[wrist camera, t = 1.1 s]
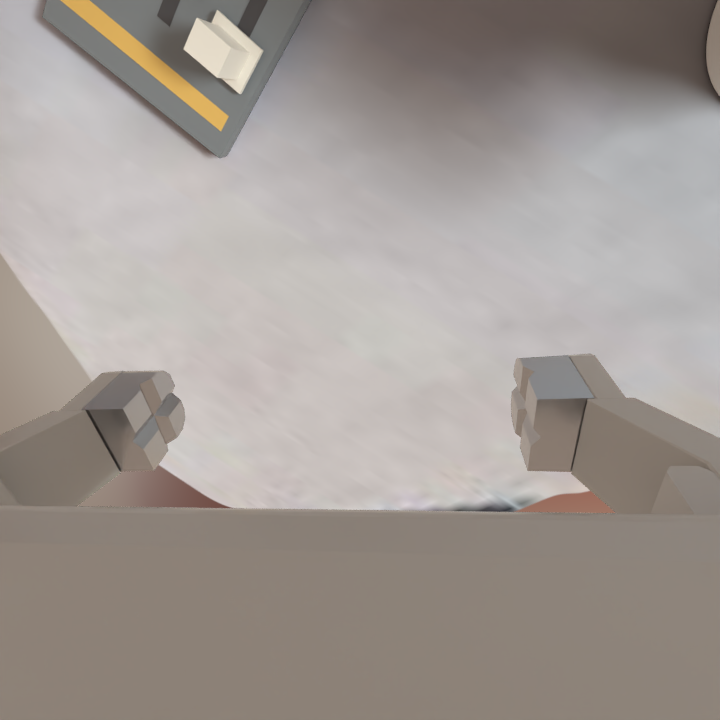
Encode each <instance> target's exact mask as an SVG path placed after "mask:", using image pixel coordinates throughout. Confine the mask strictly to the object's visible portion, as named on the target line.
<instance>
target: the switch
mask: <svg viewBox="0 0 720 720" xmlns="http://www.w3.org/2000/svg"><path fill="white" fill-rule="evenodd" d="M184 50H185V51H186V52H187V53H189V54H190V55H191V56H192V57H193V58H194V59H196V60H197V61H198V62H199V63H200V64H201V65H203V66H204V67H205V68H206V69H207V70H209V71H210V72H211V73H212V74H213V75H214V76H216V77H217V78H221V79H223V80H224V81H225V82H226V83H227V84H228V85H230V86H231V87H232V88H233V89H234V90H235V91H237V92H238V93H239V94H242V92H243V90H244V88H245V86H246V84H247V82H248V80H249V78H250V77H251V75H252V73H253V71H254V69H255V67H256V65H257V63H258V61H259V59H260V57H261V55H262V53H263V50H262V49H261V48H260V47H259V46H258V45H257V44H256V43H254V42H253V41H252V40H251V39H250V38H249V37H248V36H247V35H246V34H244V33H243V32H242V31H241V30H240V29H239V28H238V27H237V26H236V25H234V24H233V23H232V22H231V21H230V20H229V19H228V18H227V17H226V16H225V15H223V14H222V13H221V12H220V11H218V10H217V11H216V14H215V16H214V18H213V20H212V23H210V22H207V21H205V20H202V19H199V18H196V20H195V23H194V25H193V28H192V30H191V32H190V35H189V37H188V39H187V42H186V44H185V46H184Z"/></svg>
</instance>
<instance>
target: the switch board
mask: <svg viewBox="0 0 720 720" xmlns="http://www.w3.org/2000/svg"><path fill="white" fill-rule="evenodd" d="M310 2H311V0H46V4H45V8H44V12H43V16H42V17H43V18H44V19H46V20H47V21H48V22H49V23H51V24H52V25H53V26H54V27H56V28H57V29H58V30H59V31H61V32H62V33H63V34H64V35H66V36H67V37H68V38H69V39H71V40H72V41H73V42H74V43H76V44H77V45H78V46H79V47H81V48H82V49H83V50H84V51H86V52H87V53H88V54H89V55H91V56H92V57H93V58H94V59H96V60H97V61H98V62H99V63H101V64H102V65H103V66H104V67H106V68H107V69H108V70H109V71H111V72H112V73H113V74H115V75H116V76H117V77H118V78H120V79H121V80H122V81H123V82H125V83H126V84H127V85H128V86H130V87H131V88H132V89H133V90H135V91H136V92H137V93H138V94H140V95H141V96H142V97H143V98H145V99H146V100H147V101H148V102H150V103H151V104H152V105H153V106H155V107H156V108H157V109H158V110H160V111H161V112H162V113H163V114H165V115H166V116H167V117H168V118H170V119H171V120H172V121H173V122H175V123H176V124H177V125H178V126H180V127H181V128H182V129H183V130H185V131H186V132H187V133H188V134H190V135H191V136H192V137H193V138H195V139H196V140H197V141H198V142H200V143H201V144H202V145H203V146H205V147H206V148H207V149H208V150H210V151H211V152H212V153H213V154H215V155H216V156H217V157H218V158H222V157H226V156H227V155H228V153H229V152H230V150H231V148H232V146H233V144H234V142H235V140H236V139H237V137H238V135H239V133H240V131H241V129H242V128H243V126H244V124H245V122H246V120H247V118H248V116H249V115H250V113H251V111H252V109H253V107H254V105H255V103H256V102H257V100H258V98H259V96H260V94H261V92H262V91H263V89H264V87H265V85H266V83H267V81H268V79H269V78H270V76H271V74H272V72H273V70H274V68H275V66H276V65H277V63H278V61H279V59H280V57H281V55H282V54H283V52H284V50H285V48H286V46H287V44H288V42H289V41H290V39H291V37H292V35H293V33H294V31H295V29H296V28H297V26H298V24H299V22H300V20H301V18H302V17H303V15H304V13H305V11H306V9H307V7H308V5H309V4H310ZM217 10H218V11H220V12H221V13H222V14H223V15H225V16H226V17H227V18H228V19H229V20H230V21H231V22H232V23H233V24H234V25H236V26H237V27H238V28H239V29H240V30H241V31H242V32H243V33H244V34H246V35H247V36H248V37H249V38H250V39H251V40H252V41H253V42H254V43H256V44H257V45H258V46H259V47H260V48H261V49H262V50H263V53H262V55H261V57H260V59H259V61H258V63H257V65H256V67H255V69H254V71H253V73H252V75H251V77H250V78H249V80H248V82H247V84H246V86H245V88H244V90H243V92H242V94H239V93H238V92H237V91H235V90H234V89H233V88H232V87H231V86H230V85H228V84H227V83H226V82H225V81H224V80H223V79H221V78H217V77H216V76H214V75H213V74H212V73H211V72H210V71H209V70H207V69H206V68H205V67H204V66H203V65H201V64H200V63H199V62H198V61H197V60H196V59H194V58H193V57H192V56H191V55H190V54H189V53H187V52H186V51H185V50H184V46H185V44H186V42H187V39H188V37H189V35H190V32H191V30H192V28H193V25H194V23H195V20H196V18H199V19H202V20H205V21H207V22H210V23H212V20H213V18H214V16H215V14H216V11H217Z"/></svg>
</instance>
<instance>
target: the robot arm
mask: <svg viewBox="0 0 720 720" xmlns="http://www.w3.org/2000/svg"><path fill="white" fill-rule="evenodd" d="M706 59H707V68H708V73H709V76H710V80H711V82H712V84H713V87H714V88H715V90H716V92H717V93H718V95H719V96H720V0H718V1H717V4H716V6H715V9H714V12H713V15H712V19H711V22H710V27H709V31H708V37H707V46H706ZM514 378H515V381H516V383H517V387H516V388H515V389H514V390H513V391H512V396H511V417H512V422H513V427H514V430H515V433H516V434H517V435H519V436H520V437H521V444H520V449H521V452H522V455H523V458H524V461H525V464H526V468H527V471H557V472H572V473H571V474H572V475H573V476H575V477H576V478H577V479H578V480H579V481H580V482H581V483H583V484H584V485H585V486H586V487H587V488H588V489H589V490H590V491H592V492H593V493H594V494H595V495H596V496H597V497H598V498H600V499H601V500H602V501H603V502H604V503H605V504H607V505H608V506H609V507H610V508H611V509H612V510H613V511H614V512H615V513H543V512H538V513H536V512H470V511H399V510H328V509H244V508H169V507H167V508H165V507H95V506H78V505H79V504H81V503H82V502H83V501H85V500H86V499H87V498H89V497H90V496H91V495H92V494H94V493H95V492H96V491H98V490H99V489H100V488H102V487H103V486H104V485H106V484H107V483H108V482H110V481H111V480H112V479H114V478H115V477H116V476H118V475H119V474H120V472H123V471H124V472H125V471H154V470H155V468H156V467H157V466H158V464H159V463H160V462H161V460H162V459H163V457H164V456H165V454H166V453H167V452H168V447H167V444H168V443H169V442H171V441H172V440H174V439H175V438H177V437H178V435H179V434H180V432H181V431H182V429H183V426H184V421H185V412H184V407H183V404H182V402H181V400H180V399H179V398H178V397H176V396H175V395H174V394H173V393H172V392H173V389H174V387H175V385H174V382H173V380H172V378H171V376H170V374H169V373H167V372H165V371H115V372H106V373H102V374H100V375H99V376H98V377H97V378H96V379H95V380H94V381H92V382H91V383H90V384H89V385H88V386H87V387H86V388H84V389H83V390H82V391H81V392H80V393H79V394H78V395H76V396H75V397H74V398H73V399H72V400H71V401H70V402H68V403H67V404H66V405H65V406H64V407H63V408H62V409H61V410H59V411H52V412H50V413H47V414H45V415H43V416H41V417H39V418H36V419H34V420H32V421H30V422H28V423H25V424H23V425H21V426H19V427H16V428H14V429H12V430H10V431H8V432H5V433H3V434H1V435H0V720H720V438H718V437H716V436H714V435H712V434H710V433H708V432H706V431H704V430H701V429H699V428H697V427H695V426H693V425H691V424H689V423H687V422H684V421H682V420H680V419H678V418H676V417H674V416H672V415H670V414H668V413H665V412H663V411H661V410H659V409H657V408H655V407H653V406H651V405H648V404H646V403H644V402H642V401H640V400H638V399H636V398H626V397H625V396H624V394H623V393H622V392H621V390H620V389H619V388H618V386H617V385H616V384H615V382H614V381H613V380H612V378H611V377H610V375H609V374H608V373H607V371H606V370H605V369H604V367H603V366H602V365H601V363H600V362H599V361H598V359H597V358H596V357H595V355H592V354H578V355H565V356H548V357H531V358H517V359H516V362H515V366H514Z"/></svg>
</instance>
